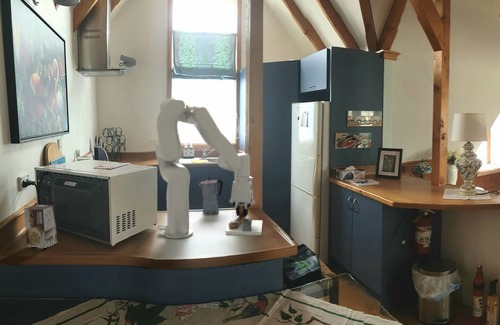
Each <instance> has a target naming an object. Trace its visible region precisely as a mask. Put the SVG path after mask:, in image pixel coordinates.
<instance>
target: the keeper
mask: <svg viewBox="0 0 500 325" xmlns="http://www.w3.org/2000/svg"><path fill="white" fill-rule="evenodd" d="M230 220H231V224H236V219H230ZM252 220H253V219H252V218H246V219H243V223H242V231H252Z"/></svg>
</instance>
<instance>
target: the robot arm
mask: <svg viewBox="0 0 500 325" xmlns="http://www.w3.org/2000/svg"><path fill="white" fill-rule="evenodd" d="M178 122H182V123H186V124H189V125H194V128H195V129H196V130H197V131H198V133H199V135H200V137H201V138H202V140H203V141H204V142H205V144H207V145H208V146H209V147H210V148H212V149H213V150H214V151H216V152H217V154H218V155H219V156H218V157H217V160H216V161H217V165H218V167H219V168H221V169H223V170H226V171H231V172H234V180H233V182H232V185H231V186H232V187H231V194H230V195H231V196H230V198H229V200H228V201H229V203H230V204H231V205H233V206H234V208H235V215H236V217H239V205H240V203H244V204H243V205H245V209H244V217H246V218H247V216H248V215H249V208H250V207H251V206H252V205H255V204H256V201H255V199H254V189H253V183H252V181H253V176H251V156H250V154H249V153H245V152H243V153H238V151H237V150H236V148H235V147H234V145H233V144H232V143H231V141H230V140H229V139H228V138H227V137H226V136H225V135H224V134H223V133H222V131H221V130H220V129H219V127H218V125H217V124H216V122H215V121H214V119H213V117H212V116H211V113H210V112H209V111H208V109H207V108H206V107H205V106H204V105H199V104H197V105H191V104H187V103H185V101H184V100H183V99H181V98H178V97H172V98H166V99H165V100H162V102H161V103H160V106H159V113H158V116H157V118H156V131H157V137H158V142H157V144H156V146H155V156H156V159H157V160H156V161H157V165H158V168H159V172H160V175H161V178H162V180H164V181H165V182H166V183H167V186H166V215H167V216H166V217H167V218H166V219H167V221H166V222H167V223H166V224H158V230H159V231H164V232H163V236H164V237H165V238H167V239H173V240H174V239H176V240H177V239H186V238H189V237H191V236H193V234H194V231H193V229H191V228H190V202H189V201H190V198H189V196H190V194H189V193H190V192H189V190H190V183H191V182H190V181H191V175H190V171H189V169H188V168H187V167H186V166H185V165H182V164H180V161H179V160H181V158H182V156H183V148H182V144H181V139H180V136H179V131H178V124H179V123H178Z"/></svg>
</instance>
